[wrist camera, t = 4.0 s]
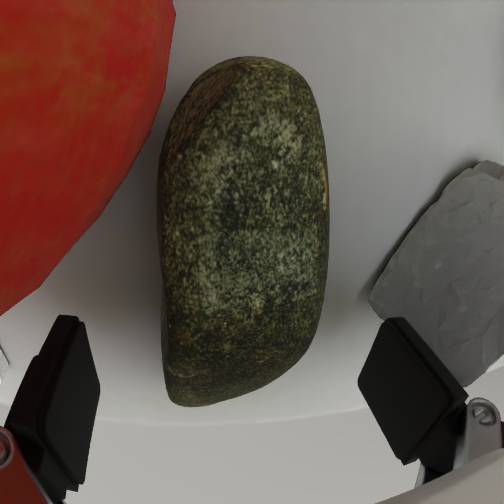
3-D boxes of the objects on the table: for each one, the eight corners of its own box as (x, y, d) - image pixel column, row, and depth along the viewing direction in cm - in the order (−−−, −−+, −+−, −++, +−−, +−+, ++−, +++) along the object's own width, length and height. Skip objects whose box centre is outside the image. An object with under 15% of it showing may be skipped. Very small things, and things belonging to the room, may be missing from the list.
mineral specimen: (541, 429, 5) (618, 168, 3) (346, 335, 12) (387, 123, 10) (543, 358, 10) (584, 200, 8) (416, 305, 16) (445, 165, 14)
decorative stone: (175, 67, 8) (154, 29, 3) (310, 84, 8) (403, 77, 4) (167, 381, 13) (167, 476, 9) (257, 380, 14) (280, 470, 9)
